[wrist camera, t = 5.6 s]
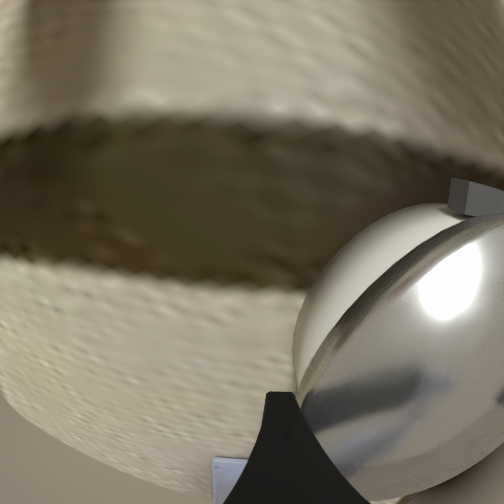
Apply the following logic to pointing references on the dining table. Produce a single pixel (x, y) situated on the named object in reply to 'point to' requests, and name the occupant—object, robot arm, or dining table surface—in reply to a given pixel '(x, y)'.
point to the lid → (416, 367)
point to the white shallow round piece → (380, 260)
